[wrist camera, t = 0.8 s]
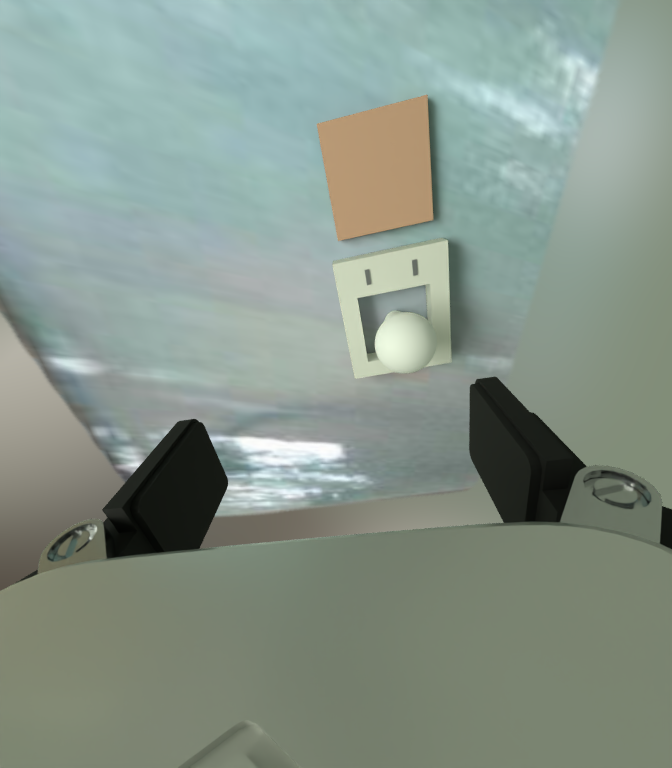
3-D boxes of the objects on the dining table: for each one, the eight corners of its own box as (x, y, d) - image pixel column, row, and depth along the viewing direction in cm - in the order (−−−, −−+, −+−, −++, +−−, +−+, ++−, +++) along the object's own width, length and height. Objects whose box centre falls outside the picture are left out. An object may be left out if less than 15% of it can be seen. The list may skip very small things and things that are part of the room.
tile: (317, 126, 30) (316, 123, 29) (424, 98, 29) (427, 94, 28) (338, 239, 35) (338, 240, 34) (431, 219, 34) (433, 220, 33)
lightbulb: (395, 282, 37) (414, 309, 27) (429, 317, 39) (458, 353, 29) (358, 320, 39) (364, 357, 30) (392, 351, 41) (408, 395, 32)
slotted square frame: (333, 260, 36) (332, 264, 34) (441, 237, 34) (448, 240, 32) (354, 369, 42) (354, 379, 40) (445, 354, 41) (451, 362, 39)
